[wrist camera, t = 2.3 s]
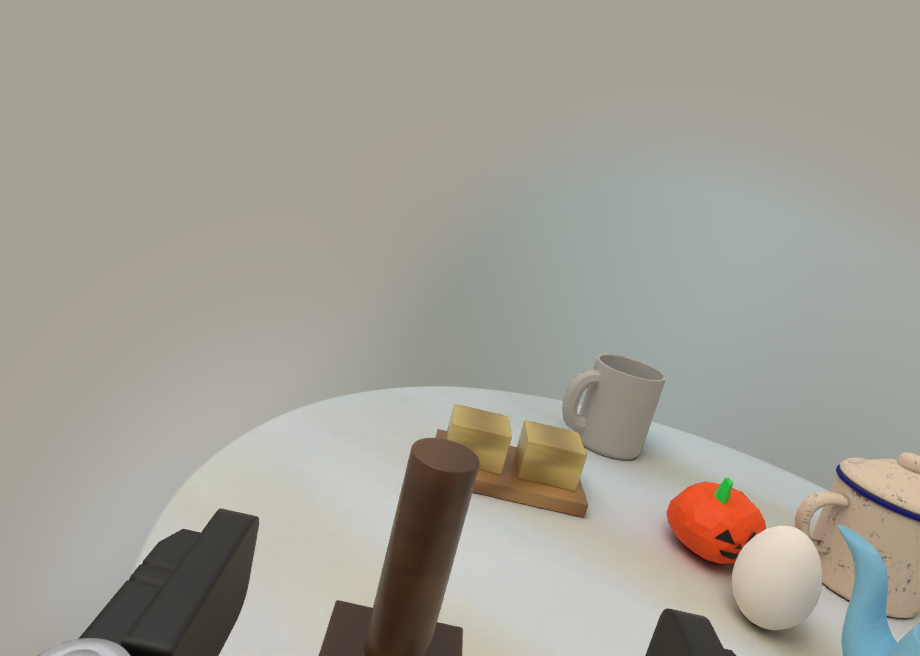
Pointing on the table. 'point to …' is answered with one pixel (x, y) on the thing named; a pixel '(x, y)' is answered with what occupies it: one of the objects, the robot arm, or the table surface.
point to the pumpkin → (714, 520)
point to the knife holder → (351, 625)
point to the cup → (614, 405)
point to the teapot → (871, 607)
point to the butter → (522, 460)
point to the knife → (421, 547)
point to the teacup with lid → (871, 526)
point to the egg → (777, 578)
